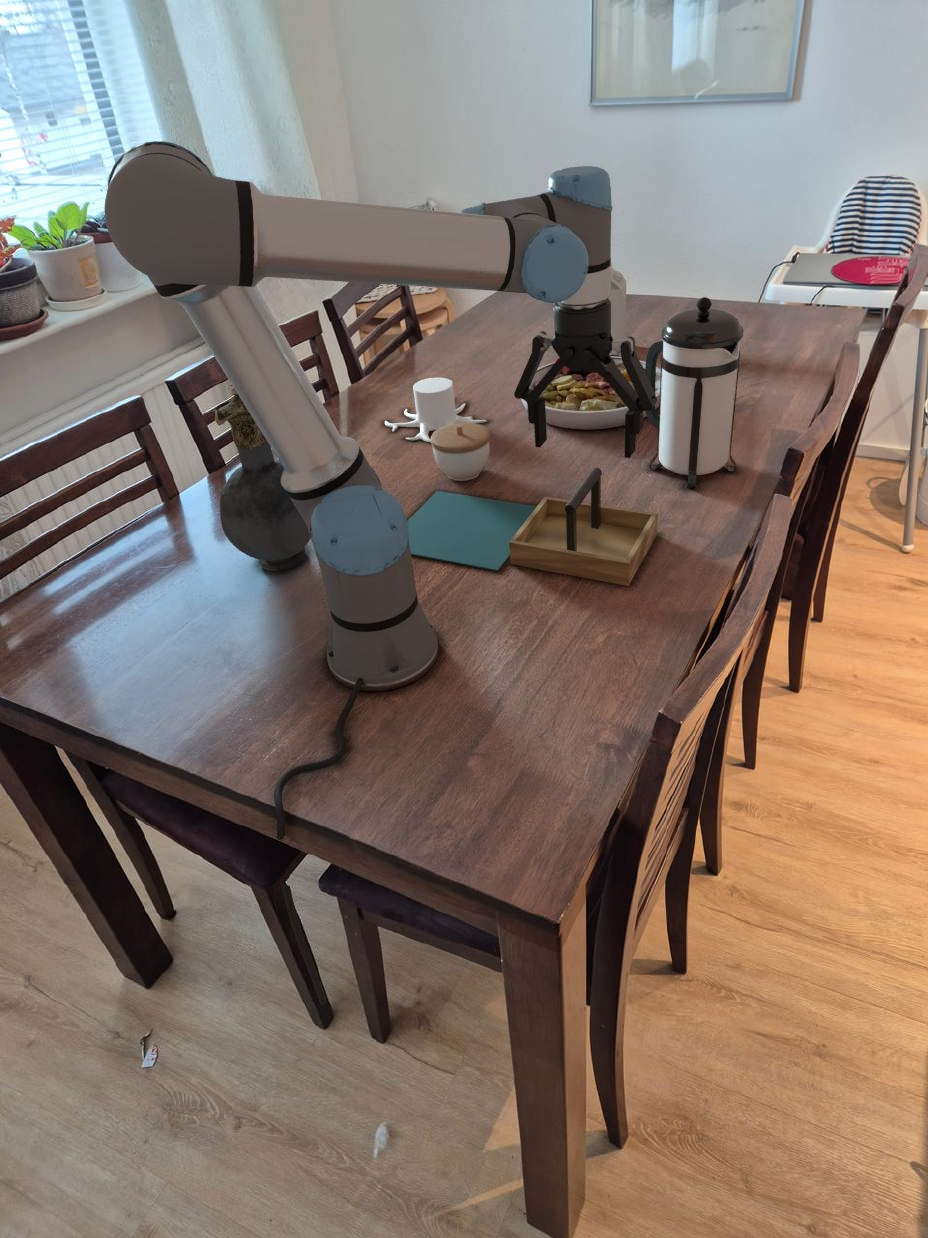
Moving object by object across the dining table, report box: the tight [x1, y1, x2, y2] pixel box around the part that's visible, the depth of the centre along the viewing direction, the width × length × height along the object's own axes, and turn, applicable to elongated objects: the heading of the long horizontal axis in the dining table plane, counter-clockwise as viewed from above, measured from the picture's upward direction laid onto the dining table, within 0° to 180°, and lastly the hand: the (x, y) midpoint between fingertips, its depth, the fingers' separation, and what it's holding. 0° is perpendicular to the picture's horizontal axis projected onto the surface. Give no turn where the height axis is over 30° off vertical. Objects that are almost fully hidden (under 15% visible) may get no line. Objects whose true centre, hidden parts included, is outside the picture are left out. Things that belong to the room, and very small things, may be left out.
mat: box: [407, 490, 538, 572], centre depth 144 cm, size 20×21×1 cm
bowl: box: [520, 355, 662, 431], centre depth 177 cm, size 30×30×8 cm
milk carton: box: [608, 261, 627, 356], centre depth 198 cm, size 7×7×19 cm
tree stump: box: [384, 377, 488, 444], centre depth 177 cm, size 20×19×8 cm
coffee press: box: [645, 296, 745, 489], centre depth 145 cm, size 17×16×30 cm
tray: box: [509, 467, 659, 587], centre depth 132 cm, size 15×19×11 cm
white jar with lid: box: [430, 423, 491, 482], centre depth 157 cm, size 11×11×9 cm
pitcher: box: [213, 384, 311, 572], centre depth 134 cm, size 11×19×30 cm, turn 156°
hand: (584, 448), depth 125 cm, fingers open, 13 cm apart
